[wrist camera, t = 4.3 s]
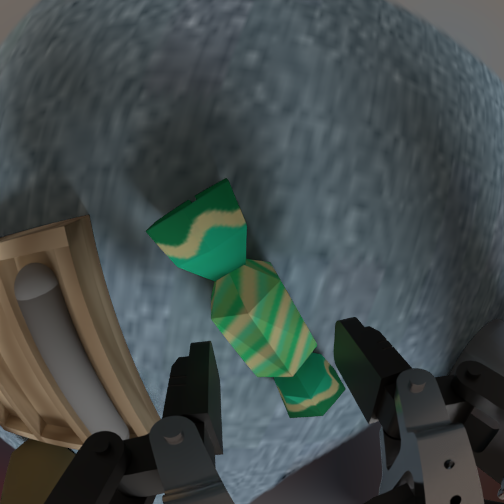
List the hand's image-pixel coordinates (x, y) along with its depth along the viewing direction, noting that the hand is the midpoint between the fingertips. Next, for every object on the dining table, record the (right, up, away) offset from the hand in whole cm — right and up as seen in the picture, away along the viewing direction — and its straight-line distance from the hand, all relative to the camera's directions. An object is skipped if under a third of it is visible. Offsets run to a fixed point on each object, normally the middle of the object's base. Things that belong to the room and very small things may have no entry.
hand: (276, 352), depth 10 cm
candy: (-1, +1, +4) cm, 4 cm away
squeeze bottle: (-20, -16, +6) cm, 26 cm away
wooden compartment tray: (-16, -3, +3) cm, 16 cm away
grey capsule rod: (-10, -2, +2) cm, 11 cm away
